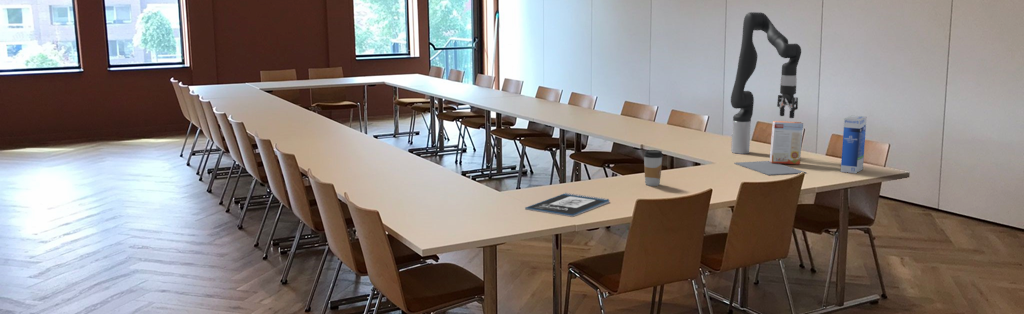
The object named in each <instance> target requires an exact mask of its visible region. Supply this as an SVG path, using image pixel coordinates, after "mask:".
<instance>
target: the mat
mask: <svg viewBox="0 0 1024 314" xmlns="http://www.w3.org/2000/svg"><path fill="white" fill-rule="evenodd" d="M734 165H737V166H740V167H742V168H743V167H744V168H745V169H748V170H751V171H755V172H758V173H761V174H763V175H767V176H780V175H781V176H782V175H786V176H787V175H799V174H798V173H801V172H805V173H804V174H807V172H806V171H804V170H800V169H797V168H794V167H791V166H787V165H786V164H785V165H784V164H780V163H771V162H770V160H761V161H757V160H756V161H745V162H744V161H743V162H742V161H740V162H734Z"/></svg>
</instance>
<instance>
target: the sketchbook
mask: <svg viewBox="0 0 1024 314" xmlns="http://www.w3.org/2000/svg"><path fill="white" fill-rule="evenodd" d="M609 203H610V199H609V198H603V197H600V198H599V197H595V196H590V195H581V194H575V193H571V192H570V193H569V192H565V193H562V194H559V195H556V196H554V197H551V198H549V199H546V200H543V201H539V202H537V203H534V204H531V205H529V206H525V207H524V210H528V211H534V212H540V213H546V214H547V213H548V214H551V215H560V216H565V217H575V216H578V215H581V214H583V213H586V212H588V211H591V210H593V209H597V208H599V207H601V206H604V205H607V204H609Z"/></svg>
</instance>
